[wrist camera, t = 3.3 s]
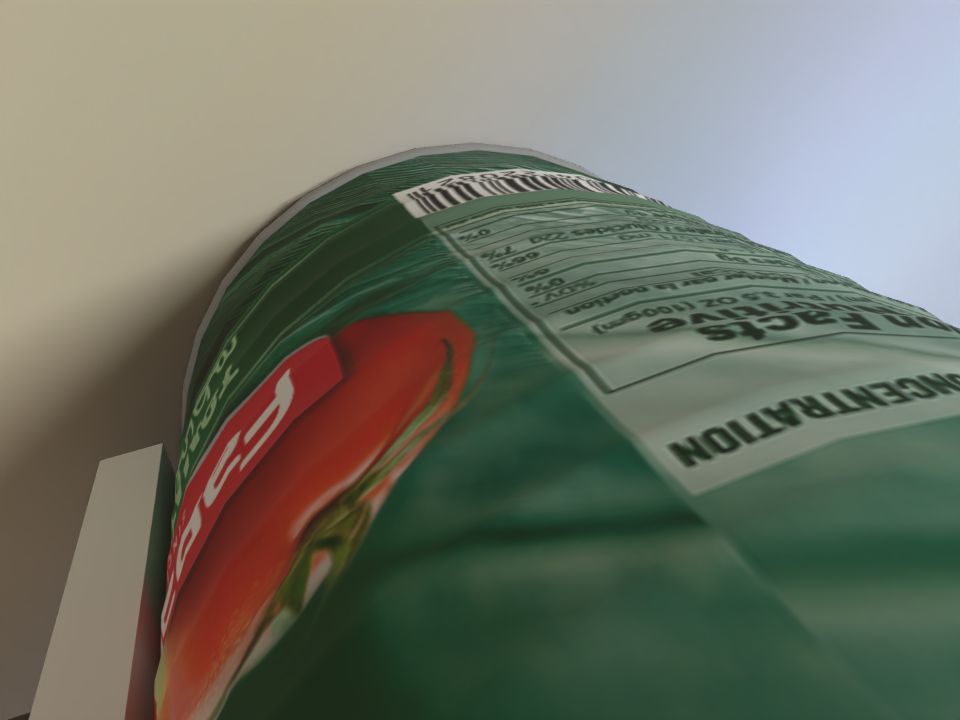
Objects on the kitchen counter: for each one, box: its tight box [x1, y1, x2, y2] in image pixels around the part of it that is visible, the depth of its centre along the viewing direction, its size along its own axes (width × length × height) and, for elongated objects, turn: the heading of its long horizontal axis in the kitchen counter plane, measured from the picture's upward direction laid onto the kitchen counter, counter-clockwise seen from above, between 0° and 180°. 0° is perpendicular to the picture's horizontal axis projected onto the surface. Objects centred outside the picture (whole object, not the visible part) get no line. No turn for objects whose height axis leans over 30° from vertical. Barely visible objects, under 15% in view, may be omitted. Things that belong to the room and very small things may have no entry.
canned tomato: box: [154, 143, 960, 720], centre depth 8 cm, size 8×8×11 cm
